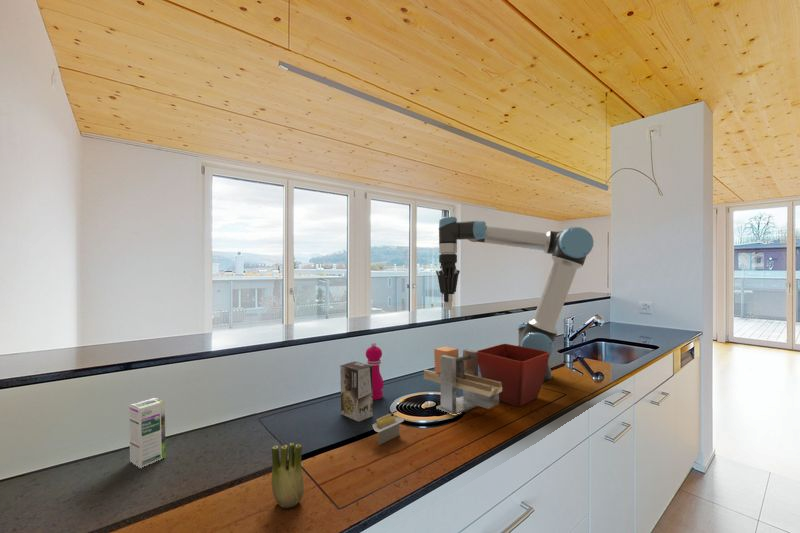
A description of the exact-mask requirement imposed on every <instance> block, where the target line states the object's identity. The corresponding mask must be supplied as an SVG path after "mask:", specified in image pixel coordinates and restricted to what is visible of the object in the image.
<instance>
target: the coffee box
mask: <svg viewBox="0 0 800 533" xmlns="http://www.w3.org/2000/svg"><path fill="white" fill-rule="evenodd" d="M339 369H340V411H341V412H340V414H341V416H344V417H347V418H349V419H351V420H354V421H356V422H362V421H364V420H367V419H369V418H372V417H373V416H374V412H373V411H374V410H373V408H374V406H373V405H374V404H373V402H374V400H373V387H372V366H371V365H368V364H367V363H363V362H359V361H351V362H348V363H345V364H342V365H341V364H340V366H339Z"/></svg>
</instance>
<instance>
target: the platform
mask: <svg viewBox="0 0 800 533" xmlns="http://www.w3.org/2000/svg"><path fill="white" fill-rule="evenodd" d="M404 421H405V420H404V418H403V417H400V416H396V414H394V415H393V416H392V413H389V414H386V415H383V416H381V417H380V418H376V422H375V423H372V429H373V430H374V431H375V432H377V434H378V436H377V437H378V439H377V440H378V443H377V444H378V446H380V445H383V444H385V443H386V442H388V441H391V440H393V439H395V438H398V436H400V423H402V422H404Z"/></svg>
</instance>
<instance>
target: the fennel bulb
mask: <svg viewBox="0 0 800 533" xmlns="http://www.w3.org/2000/svg"><path fill="white" fill-rule="evenodd" d="M302 451H303V446H302V445H301V444H299V443H298V444H295V443H294V442H290V443H289V450H288V445H287V444H285V445H282V446H281V447H280V449H279V446H278V445H275V446H272V447H271V454H272V456H271V457H272V459H271V460H272V467H271V468H272V469H271V470H272V471H271V488H272V495H273V496H274V499H275V502H276V504H278V505H279V506H280V508H282V509H292V508H294V507H295V506H297V505H298V503H299V502H300V501H301V500H302V499H303V496H304V494H305V493H304V492H305V480H304V475H303V467H302Z"/></svg>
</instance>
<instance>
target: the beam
mask: <svg viewBox="0 0 800 533" xmlns="http://www.w3.org/2000/svg"><path fill="white" fill-rule="evenodd" d="M467 359H470V356H469V355H466V356H463V355H462V356H460V357H459V358H456V389H460V390H462V391H463V390H466V391H470V392H474V396H475V405H477V407H481V408H484V409H488V410H489V409H491V408H493V407H495V406H497V405H499V404H500V400H499V393H500V392H502V382H499V381H495V380H490V379H486V378H482V376H479V375H478V376H473V375H469V374H465V373H464V360H467ZM433 370H434V371H432V370H429V369H424V370H423V379H424V380H427V381H431V382H435V383H438V384H441V381H440V373H437V372H435V366H434V369H433Z"/></svg>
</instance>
